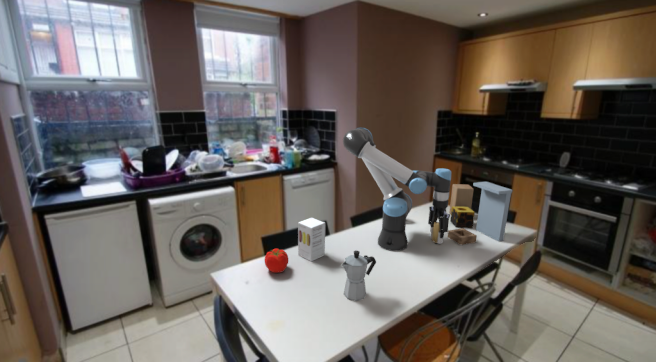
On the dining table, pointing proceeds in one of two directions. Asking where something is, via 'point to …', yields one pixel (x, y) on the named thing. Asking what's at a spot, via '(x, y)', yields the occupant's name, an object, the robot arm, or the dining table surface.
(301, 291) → the dining table surface
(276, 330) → the dining table surface
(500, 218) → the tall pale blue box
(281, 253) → the tomato
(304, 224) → the supplement box
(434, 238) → the peg
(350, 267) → the coffee maker
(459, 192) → the wooden block
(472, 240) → the socket block
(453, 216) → the yellow black tissue box
